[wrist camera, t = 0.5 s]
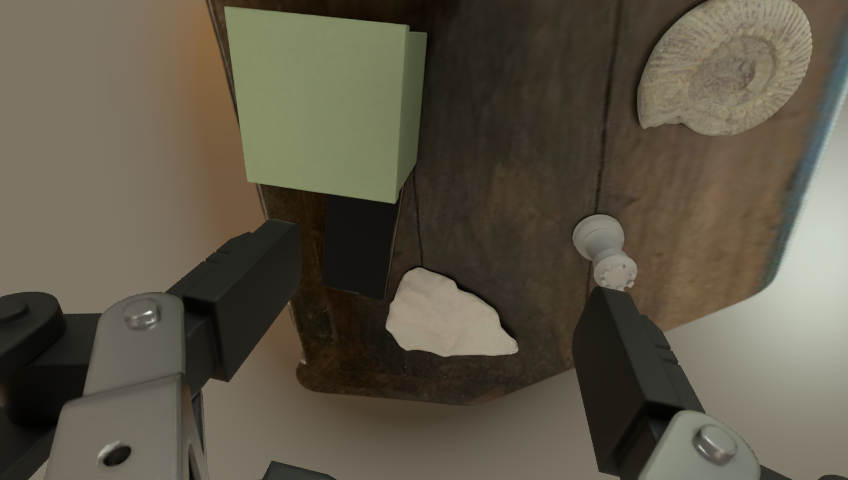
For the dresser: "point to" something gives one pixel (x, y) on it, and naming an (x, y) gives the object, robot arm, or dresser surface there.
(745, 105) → the fossil
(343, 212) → the smartphone
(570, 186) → the dresser surface
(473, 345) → the stone
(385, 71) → the shelf
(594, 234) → the rook chess piece
